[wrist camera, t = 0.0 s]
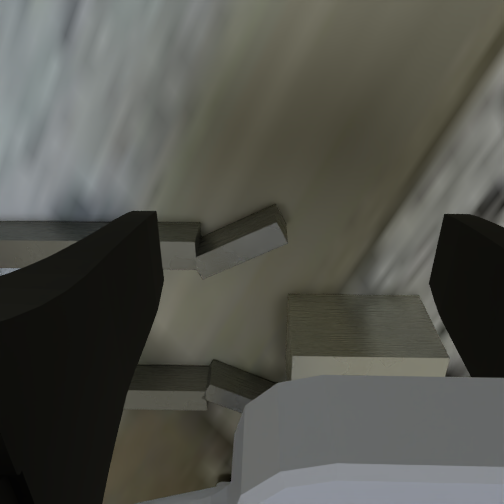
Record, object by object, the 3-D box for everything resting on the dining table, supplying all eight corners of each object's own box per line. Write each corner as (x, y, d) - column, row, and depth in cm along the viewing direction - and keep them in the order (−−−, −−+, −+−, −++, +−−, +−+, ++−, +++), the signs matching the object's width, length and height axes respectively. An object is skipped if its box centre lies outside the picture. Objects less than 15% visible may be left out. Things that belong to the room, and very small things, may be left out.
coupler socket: (280, 398, 29) (281, 446, 26) (12, 393, 30) (-17, 440, 27) (286, 203, 23) (290, 238, 20) (-55, 201, 23) (-104, 235, 20)
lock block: (405, 357, 28) (432, 430, 23) (285, 355, 28) (289, 428, 23) (418, 294, 25) (451, 361, 21) (287, 292, 26) (292, 359, 21)
